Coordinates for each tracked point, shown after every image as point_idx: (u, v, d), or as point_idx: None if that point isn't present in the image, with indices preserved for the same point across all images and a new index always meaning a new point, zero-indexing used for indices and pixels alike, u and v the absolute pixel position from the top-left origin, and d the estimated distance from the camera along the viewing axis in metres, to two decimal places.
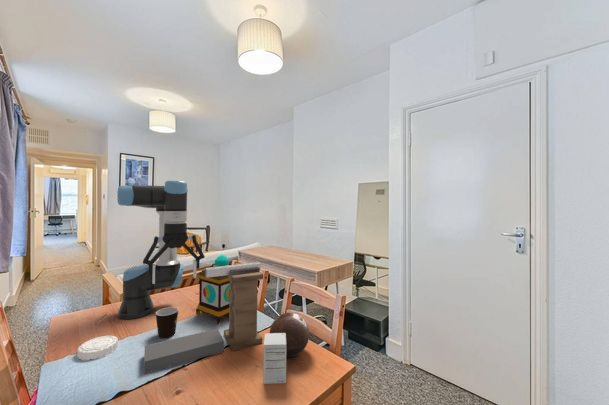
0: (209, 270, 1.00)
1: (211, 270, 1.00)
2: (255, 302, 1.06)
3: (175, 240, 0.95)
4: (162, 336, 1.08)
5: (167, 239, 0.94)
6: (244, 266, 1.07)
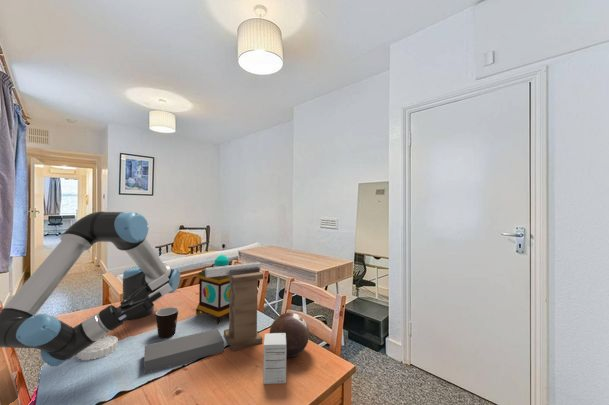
0: (209, 270, 1.00)
1: (211, 270, 1.00)
2: (255, 302, 1.06)
3: None
4: (162, 336, 1.08)
5: None
6: (244, 266, 1.07)
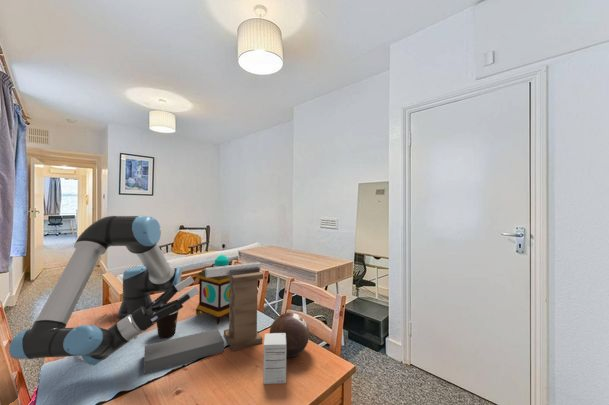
0: (209, 270, 1.00)
1: (211, 270, 1.00)
2: (255, 302, 1.06)
3: None
4: (162, 336, 1.08)
5: None
6: (244, 266, 1.07)
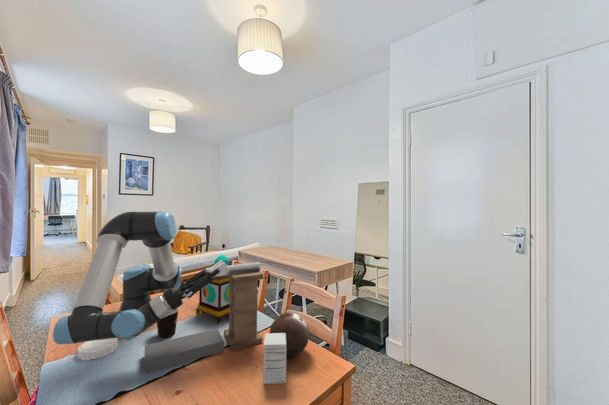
0: (209, 270, 1.00)
1: None
2: (255, 302, 1.06)
3: None
4: (162, 336, 1.08)
5: None
6: (244, 266, 1.07)
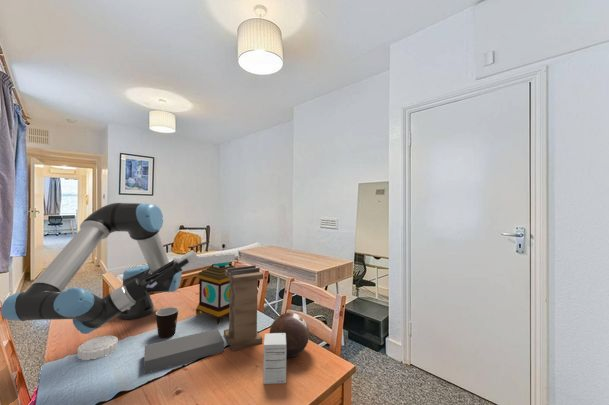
0: (177, 260, 0.94)
1: None
2: (255, 302, 1.06)
3: None
4: (162, 336, 1.08)
5: None
6: (216, 256, 1.01)
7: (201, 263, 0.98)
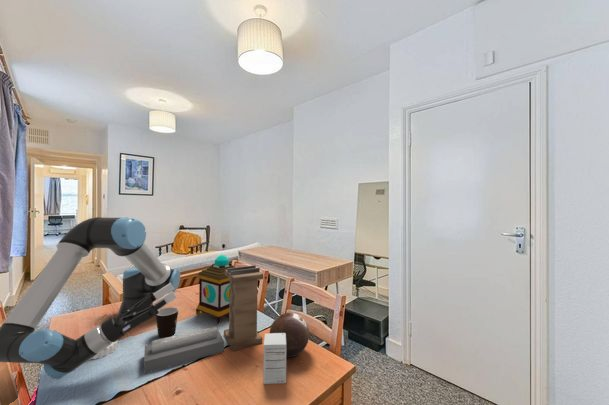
0: (155, 345, 0.91)
1: (158, 344, 0.91)
2: (255, 302, 1.06)
3: None
4: (162, 336, 1.08)
5: None
6: (197, 335, 0.98)
7: (181, 344, 0.95)
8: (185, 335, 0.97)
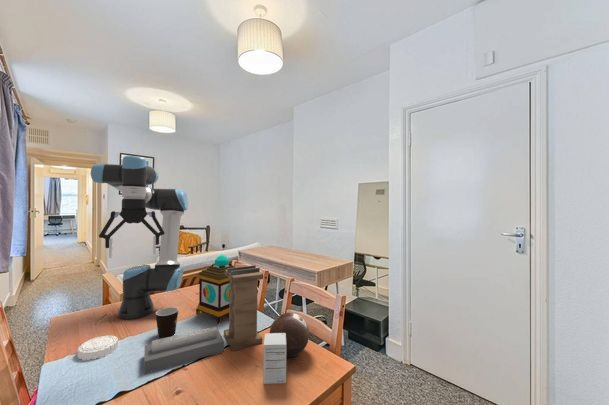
0: (155, 345, 0.91)
1: (158, 344, 0.91)
2: (255, 302, 1.06)
3: (133, 215, 0.96)
4: (162, 336, 1.08)
5: (124, 214, 0.95)
6: (197, 335, 0.98)
7: (181, 344, 0.95)
8: (185, 335, 0.97)
